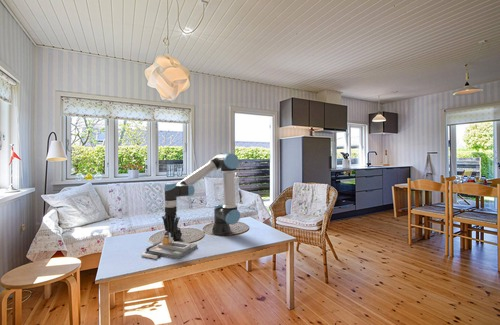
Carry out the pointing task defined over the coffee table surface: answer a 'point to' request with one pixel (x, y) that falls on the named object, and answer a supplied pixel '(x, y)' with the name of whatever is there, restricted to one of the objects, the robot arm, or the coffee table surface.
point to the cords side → (152, 246)
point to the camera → (176, 234)
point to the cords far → (150, 255)
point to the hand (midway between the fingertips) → (170, 241)
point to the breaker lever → (166, 240)
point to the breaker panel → (174, 249)
